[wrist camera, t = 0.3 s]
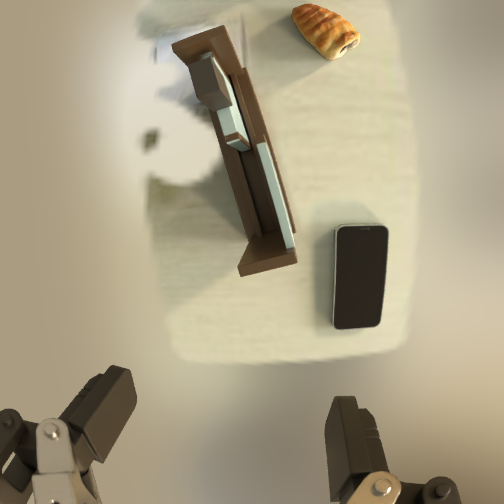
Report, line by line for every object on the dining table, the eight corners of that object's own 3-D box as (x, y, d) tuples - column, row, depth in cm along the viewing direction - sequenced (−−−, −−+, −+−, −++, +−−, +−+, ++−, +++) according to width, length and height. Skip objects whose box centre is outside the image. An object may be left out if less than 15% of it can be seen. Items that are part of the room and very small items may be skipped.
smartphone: (331, 330, 39) (335, 225, 35) (330, 327, 40) (333, 224, 36) (380, 326, 38) (389, 224, 34) (378, 323, 39) (387, 223, 35)
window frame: (247, 70, 32) (229, 22, 19) (295, 230, 37) (303, 261, 24) (203, 85, 33) (165, 46, 20) (250, 242, 38) (234, 278, 25)
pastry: (279, 23, 29) (279, 10, 26) (313, 1, 28) (315, -13, 24) (330, 66, 30) (335, 55, 27) (363, 42, 29) (370, 31, 25)
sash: (232, 81, 31) (200, 25, 16) (253, 148, 33) (233, 129, 18) (218, 85, 31) (178, 34, 16) (239, 153, 33) (208, 137, 18)
